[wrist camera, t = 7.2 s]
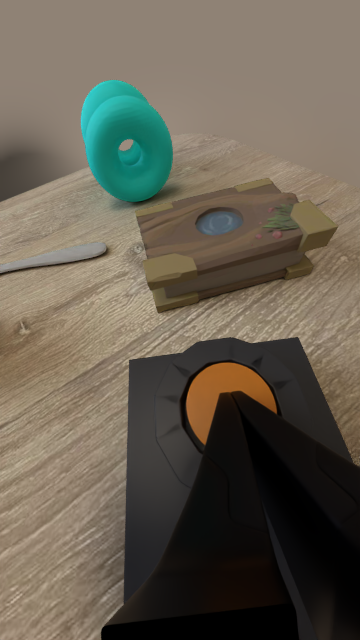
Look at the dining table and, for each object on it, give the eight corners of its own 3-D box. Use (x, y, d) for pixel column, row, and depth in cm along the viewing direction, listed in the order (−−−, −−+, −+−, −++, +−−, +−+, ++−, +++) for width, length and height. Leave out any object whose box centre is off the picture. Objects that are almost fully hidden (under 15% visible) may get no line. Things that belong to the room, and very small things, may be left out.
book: (158, 314, 19) (144, 277, 15) (140, 239, 25) (126, 196, 20) (309, 273, 20) (339, 226, 15) (257, 209, 25) (268, 161, 21)
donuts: (108, 215, 28) (66, 113, 19) (100, 180, 33) (63, 88, 24) (179, 194, 29) (169, 88, 20) (160, 164, 34) (146, 68, 25)
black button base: (355, 579, 10) (510, 717, 5) (149, 600, 10) (97, 750, 5) (276, 361, 16) (311, 321, 11) (145, 378, 16) (118, 347, 11)
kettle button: (273, 450, 10) (291, 451, 8) (194, 459, 10) (192, 463, 8) (251, 372, 11) (261, 356, 9) (185, 381, 12) (181, 367, 10)
